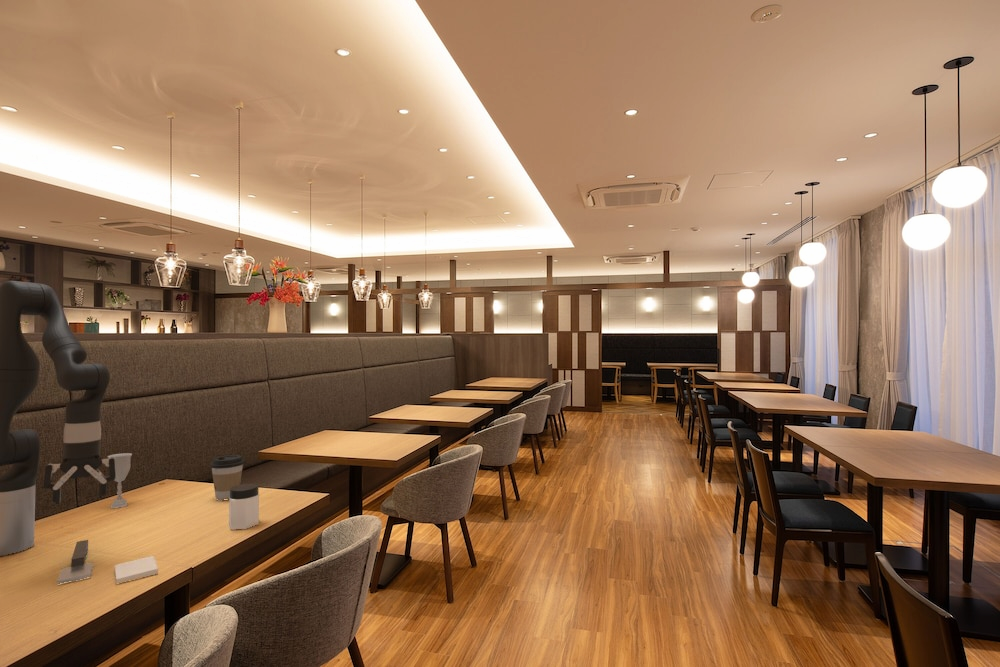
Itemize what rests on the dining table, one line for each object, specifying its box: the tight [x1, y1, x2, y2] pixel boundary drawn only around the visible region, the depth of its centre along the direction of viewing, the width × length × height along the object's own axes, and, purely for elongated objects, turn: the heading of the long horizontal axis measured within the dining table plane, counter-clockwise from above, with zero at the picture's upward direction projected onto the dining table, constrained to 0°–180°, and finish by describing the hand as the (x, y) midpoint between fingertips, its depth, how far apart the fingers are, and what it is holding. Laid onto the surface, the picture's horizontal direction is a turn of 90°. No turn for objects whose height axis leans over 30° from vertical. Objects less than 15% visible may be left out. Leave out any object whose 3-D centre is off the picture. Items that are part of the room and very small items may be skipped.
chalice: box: [107, 452, 133, 509], centre depth 170 cm, size 7×7×18 cm
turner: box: [57, 539, 94, 584], centre depth 123 cm, size 22×6×3 cm, turn 38°
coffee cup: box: [209, 454, 245, 501], centre depth 179 cm, size 11×11×15 cm
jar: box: [228, 483, 260, 531], centre depth 151 cm, size 9×8×12 cm
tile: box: [114, 555, 159, 585], centre depth 119 cm, size 8×2×10 cm
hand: (80, 500), depth 126 cm, fingers open, 8 cm apart
